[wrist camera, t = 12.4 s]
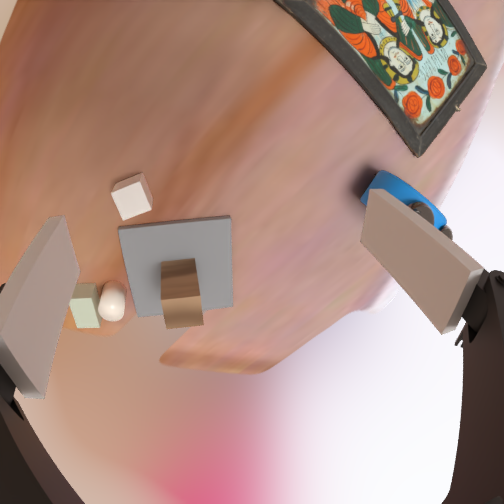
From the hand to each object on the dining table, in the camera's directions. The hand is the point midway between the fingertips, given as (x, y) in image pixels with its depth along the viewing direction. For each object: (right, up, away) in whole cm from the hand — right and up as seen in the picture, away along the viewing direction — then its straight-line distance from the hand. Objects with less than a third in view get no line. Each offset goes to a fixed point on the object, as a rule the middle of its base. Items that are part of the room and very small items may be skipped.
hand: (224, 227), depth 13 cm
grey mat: (-10, -4, +35) cm, 37 cm away
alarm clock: (+22, +9, +37) cm, 44 cm away
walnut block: (-10, -4, +34) cm, 36 cm away
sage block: (-26, -9, +34) cm, 43 cm away
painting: (+25, +33, +23) cm, 47 cm away
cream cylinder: (-21, -7, +34) cm, 41 cm away
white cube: (-15, +7, +28) cm, 32 cm away
